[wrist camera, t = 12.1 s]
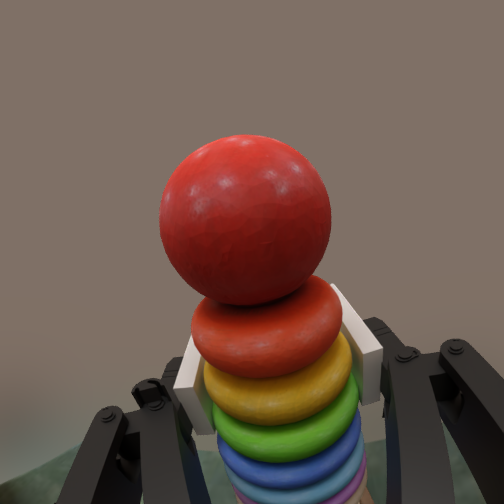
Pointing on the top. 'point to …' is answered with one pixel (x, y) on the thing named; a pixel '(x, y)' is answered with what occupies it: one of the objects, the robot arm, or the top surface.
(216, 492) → the top surface
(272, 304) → the stacking toy
